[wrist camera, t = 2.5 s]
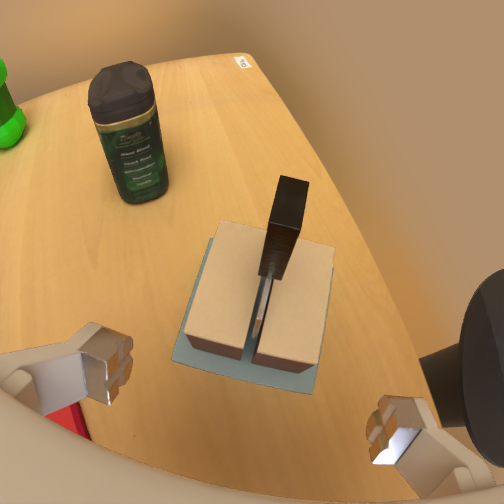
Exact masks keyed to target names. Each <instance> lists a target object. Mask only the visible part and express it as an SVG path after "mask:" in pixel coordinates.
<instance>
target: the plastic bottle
mask: <svg viewBox="0 0 504 504" xmlns="http://www.w3.org/2000/svg"><path fill="white" fill-rule="evenodd" d="M6 77H7V70H6V67H5V64H4V62H3V60H2V59H1V58H0V148H9V147H11V146H13V145H14V144H15V143H16V142H17V141H18V140H20V138H21V136H22V132H23V130H24V128H25V125H26V118H25V116H24V114H23V112H22V109H20V108H19V107H18V106H16V105H15V104H14V102H13V100H12V98H11V95H10V93H9V91H8V88H7V86H6V84H5V80H6Z"/></svg>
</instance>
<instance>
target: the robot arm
mask: <svg viewBox="0 0 504 504" xmlns="http://www.w3.org/2000/svg"><path fill="white" fill-rule="evenodd" d="M132 349H133V339H132V337H131V336H128V335H125V334H123V333H120V332H118V331H115V330H112V329H110V328H107V327H104V326H102V325H99V324H97V323H94V322H89V323H87V324H86V325H85V326H84V327H83V328H82V329H80V330H79V331H78V332H77V333H76V334H75V335H74V336H72V337H71V338H70V339H69V340H68V341H67V342H66V343H64V344H62V343H55V344H50V345H45V346H40V347H35V348H30V349H25V350H20V351H14V352H9V353H3V354H0V504H504V484H502V485H498V486H497V485H496V483H495V481H494V479H493V476H492V474H491V472H490V470H489V467H488V466H487V463H486V462H485V461H483V460H482V459H481V458H479V457H478V456H477V455H476V454H474V453H472V452H471V451H470V450H469V449H468V448H466V447H465V446H464V445H462V444H461V443H460V442H459V441H457V440H456V439H455V438H453V437H452V436H451V435H450V434H448V433H447V432H446V431H445V430H443V429H439V428H438V426H437V423H436V421H435V419H434V417H433V415H432V412H431V410H430V408H429V406H428V404H427V402H426V400H425V399H424V398H423V397H401V396H391V395H384V396H383V397H382V398H381V399H380V400H379V402H378V407H379V409H378V410H376V411H375V412H373V413H372V414H371V416H370V418H369V420H368V422H367V426H366V437H367V440H368V441H369V442H370V443H371V444H372V445H371V447H370V448H369V452H370V457H371V462H372V464H384V465H394V467H395V468H396V469H397V470H398V472H399V473H400V474H401V475H402V476H403V478H404V479H405V480H406V481H407V483H408V484H409V485H410V486H411V487H412V489H413V490H414V491H415V492H416V493H417V495H418V496H419V497H420V498H421V499H417V500H406V501H390V502H333V501H317V500H305V499H295V498H286V497H279V496H272V495H265V494H259V493H253V492H248V491H242V490H237V489H233V488H228V487H224V486H219V485H215V484H211V483H207V482H203V481H199V480H196V479H192V478H188V477H185V476H182V475H178V474H175V473H172V472H169V471H166V470H162V469H159V468H157V467H154V466H151V465H148V464H145V463H142V462H140V461H137V460H134V459H132V458H129V457H127V456H124V455H122V454H119V453H117V452H115V451H112V450H110V449H108V448H105V447H103V446H101V445H99V444H96V443H94V442H92V441H90V440H88V439H86V438H84V437H82V436H80V435H78V434H76V433H74V432H72V431H70V430H68V429H66V428H64V427H62V426H60V425H59V424H57V423H55V422H53V421H51V420H50V419H48V418H46V417H44V416H45V415H48V414H50V413H52V412H55V411H57V410H59V409H62V408H64V407H66V406H69V405H71V404H73V403H76V402H78V401H80V400H82V399H85V398H86V396H87V397H89V398H92V399H94V400H96V401H99V402H101V403H104V404H106V405H109V406H110V405H111V404H112V402H113V401H114V399H115V398H116V397H117V395H118V394H119V387H120V386H123V385H125V384H126V382H127V381H128V379H129V377H130V374H131V371H132V366H133V358H132V357H131V355H130V353H129V352H130V351H131V350H132Z"/></svg>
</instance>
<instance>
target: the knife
mask: <svg viewBox="0 0 504 504" xmlns="http://www.w3.org/2000/svg"><path fill="white" fill-rule="evenodd" d="M308 187H309V182H307V181H303V180H299V179H295V178H291V177H287V176H283V175H280V178H279V182H278V186H277V190H276V194H275V198H274V202H273V206H272V210H271V214H270V218H269V222H268V227H267V232H266V236H265V241H264V246H263V251H262V256H261V260H260V265H259V270H258V275H259V276H263V277H266V278H265V282H264V286H263V291H262V295H261V299H260V303H259V307H258V311H257V315H256V319H255V323H254V327H253V331H252V336H251V338H254V339H255V338H256V336H257V333H258V331H259V328H260V325H261V322H262V320H263V316H264V311H265V307H266V303H267V299H268V294H269V290H270V286H271V281H272V279H275V280H280V281H281V280H282V278H283V276H284V273H285V270H286V268H287V265H288V263H289V260H290V257H291V255H292V252H293V250H294V247H295V244H296V242H297V239H298V236H299V234H300V231H301V227H302V221H303V216H304V210H305V204H306V199H307V193H308Z"/></svg>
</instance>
